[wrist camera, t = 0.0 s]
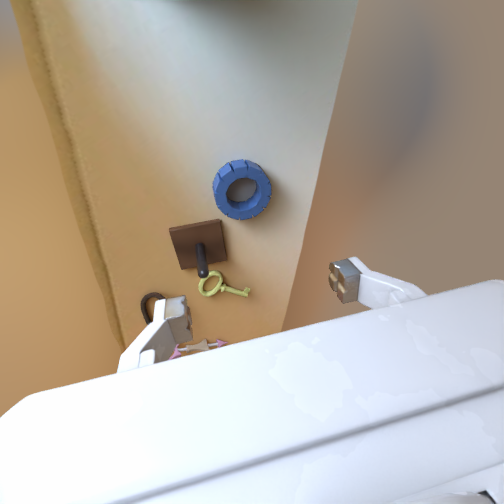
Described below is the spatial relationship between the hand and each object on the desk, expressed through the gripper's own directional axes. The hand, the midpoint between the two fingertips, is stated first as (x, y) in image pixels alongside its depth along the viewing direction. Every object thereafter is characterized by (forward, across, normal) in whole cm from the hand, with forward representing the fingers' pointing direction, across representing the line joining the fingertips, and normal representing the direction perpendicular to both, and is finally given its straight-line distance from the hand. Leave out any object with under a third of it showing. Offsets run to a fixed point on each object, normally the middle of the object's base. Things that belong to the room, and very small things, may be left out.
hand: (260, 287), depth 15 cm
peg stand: (+41, +5, +19) cm, 45 cm away
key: (+42, +2, +32) cm, 53 cm away
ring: (+40, -5, +8) cm, 41 cm away
